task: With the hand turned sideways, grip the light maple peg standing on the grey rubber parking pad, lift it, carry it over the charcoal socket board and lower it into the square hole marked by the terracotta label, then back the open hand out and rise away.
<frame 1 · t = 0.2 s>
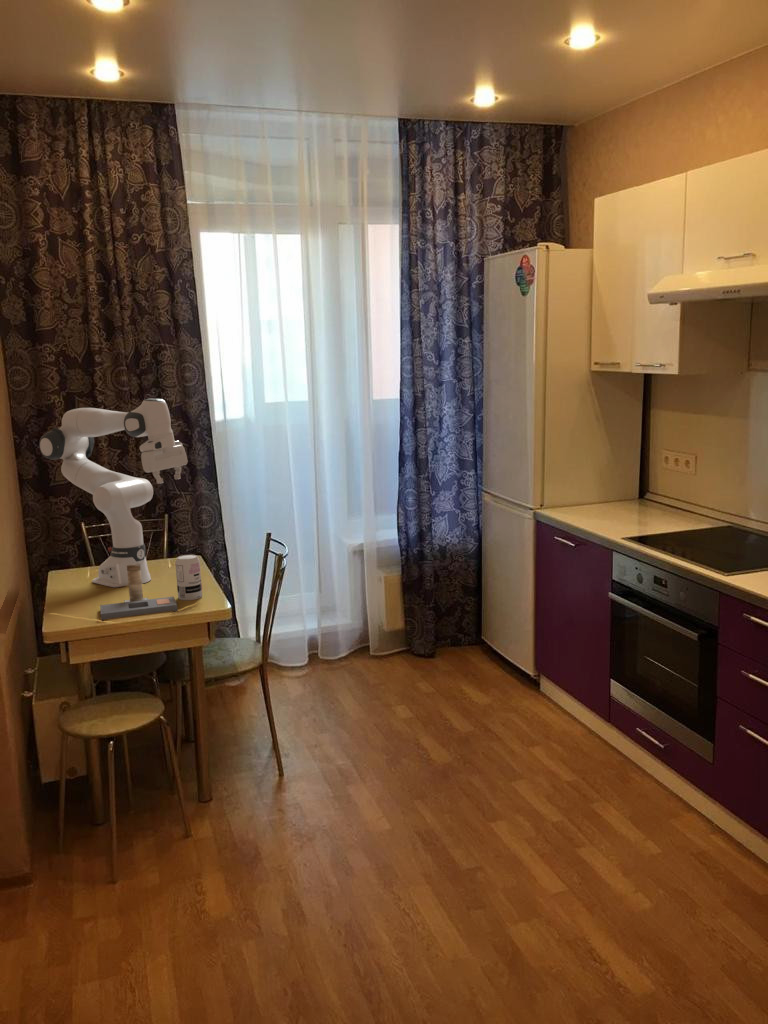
hand: (169, 481, 303), 39 cm above the table, tool pointing down, fingers open, 8 cm apart
supplement can: (190, 599, 294), on the table
parking pad: (136, 603, 290), on the table
socket board: (139, 611, 280), on the table
maple peg: (136, 601, 290), point 1 cm above the table, touching parking pad
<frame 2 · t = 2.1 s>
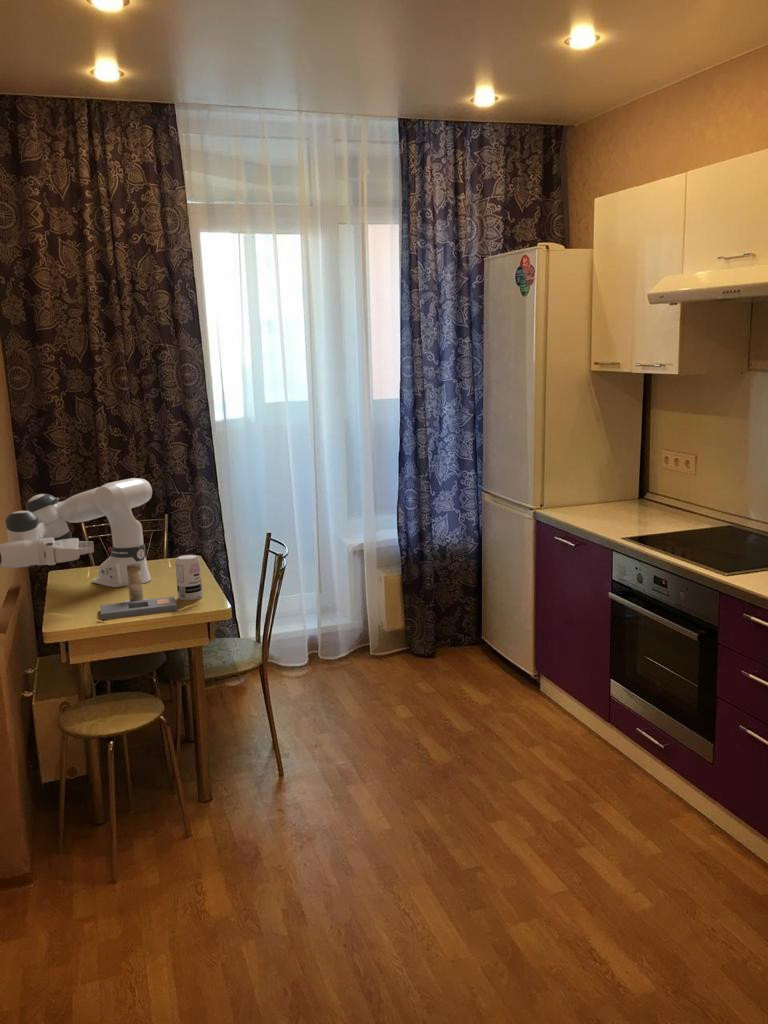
hand: (93, 546, 283), 21 cm above the table, tool horizontal, fingers open, 8 cm apart
nothing on the table moved.
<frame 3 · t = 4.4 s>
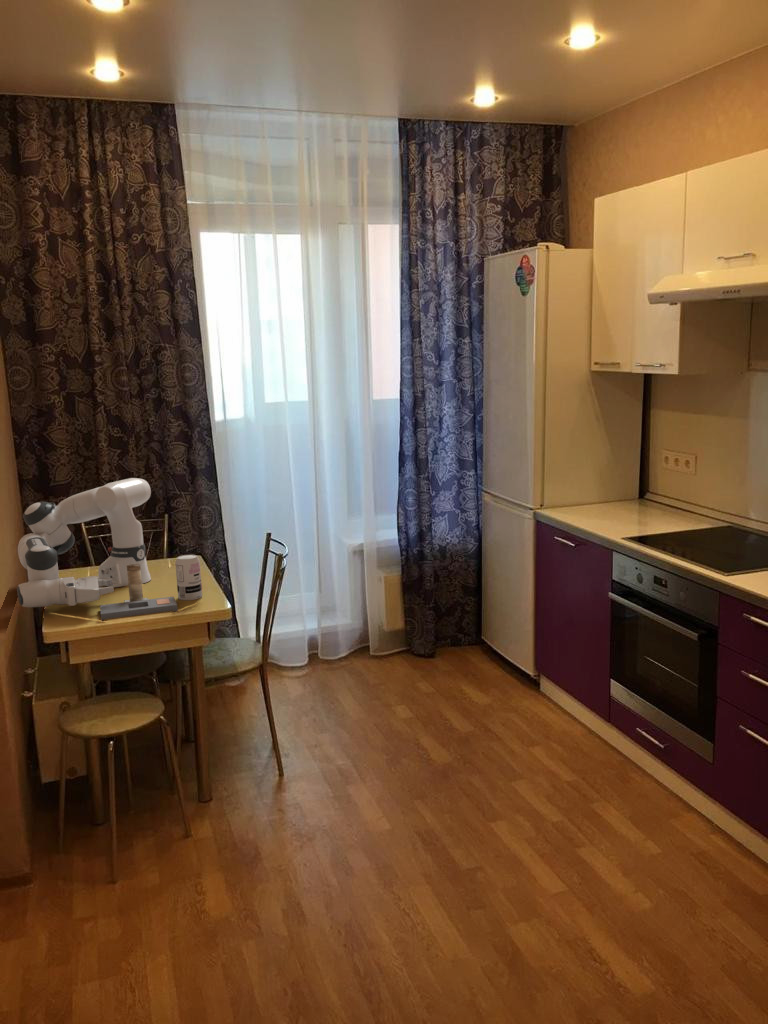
hand: (113, 585, 287), 7 cm above the table, tool horizontal, fingers open, 8 cm apart
nothing on the table moved.
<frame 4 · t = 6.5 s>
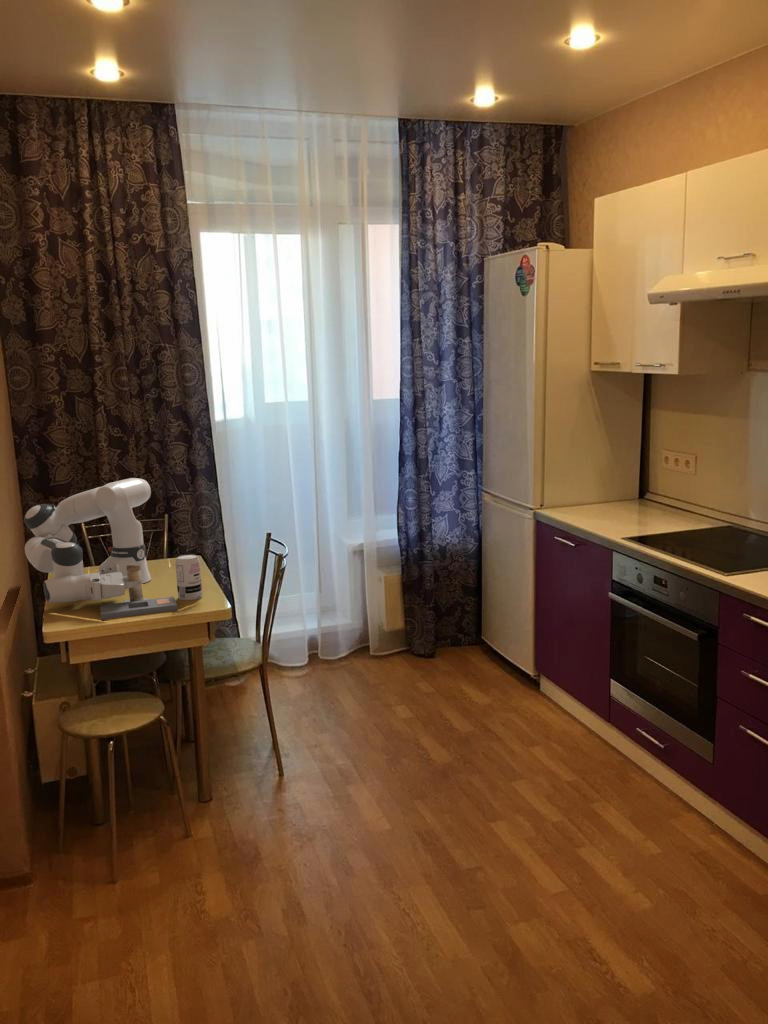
hand: (137, 581, 289), 8 cm above the table, tool horizontal, fingers closed on maple peg, 4 cm apart
maple peg: (136, 601, 290), point 1 cm above the table, touching gripper, parking pad
everything else where it was.
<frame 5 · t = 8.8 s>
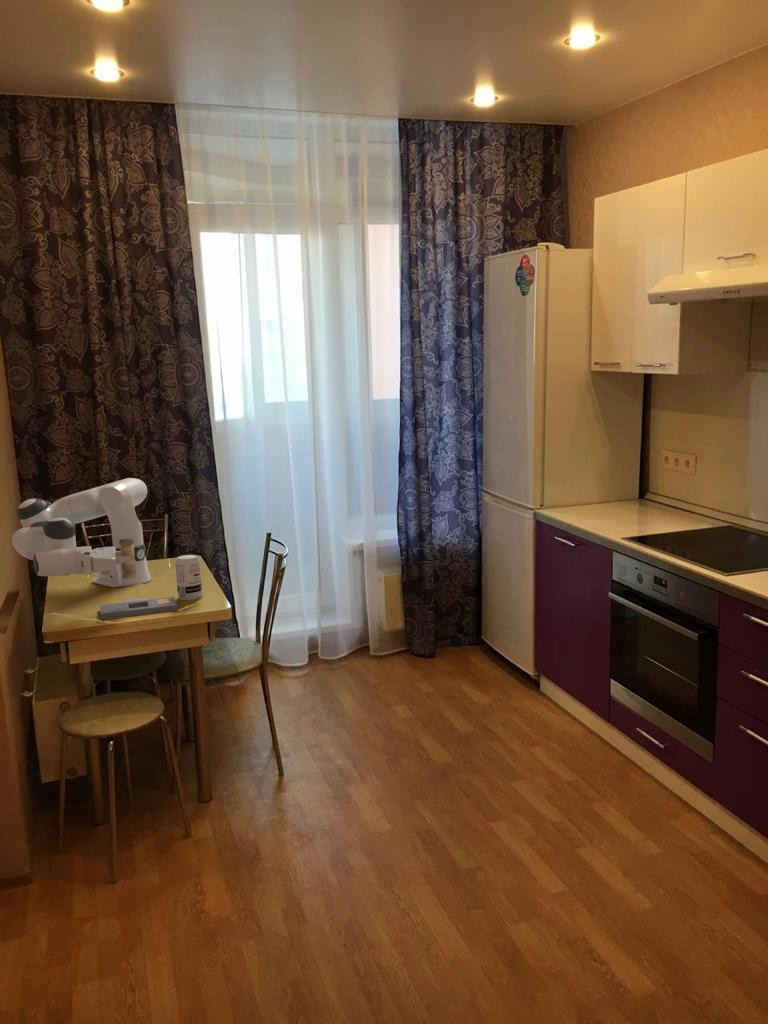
hand: (130, 556, 280), 18 cm above the table, tool horizontal, fingers closed on maple peg, 4 cm apart
maple peg: (129, 577, 281), point 11 cm above the table, touching gripper
everything else where it was.
when the fingers open (9 cm above the table, at t = 11.4 s): maple peg drops 1 cm, resting in socket board.
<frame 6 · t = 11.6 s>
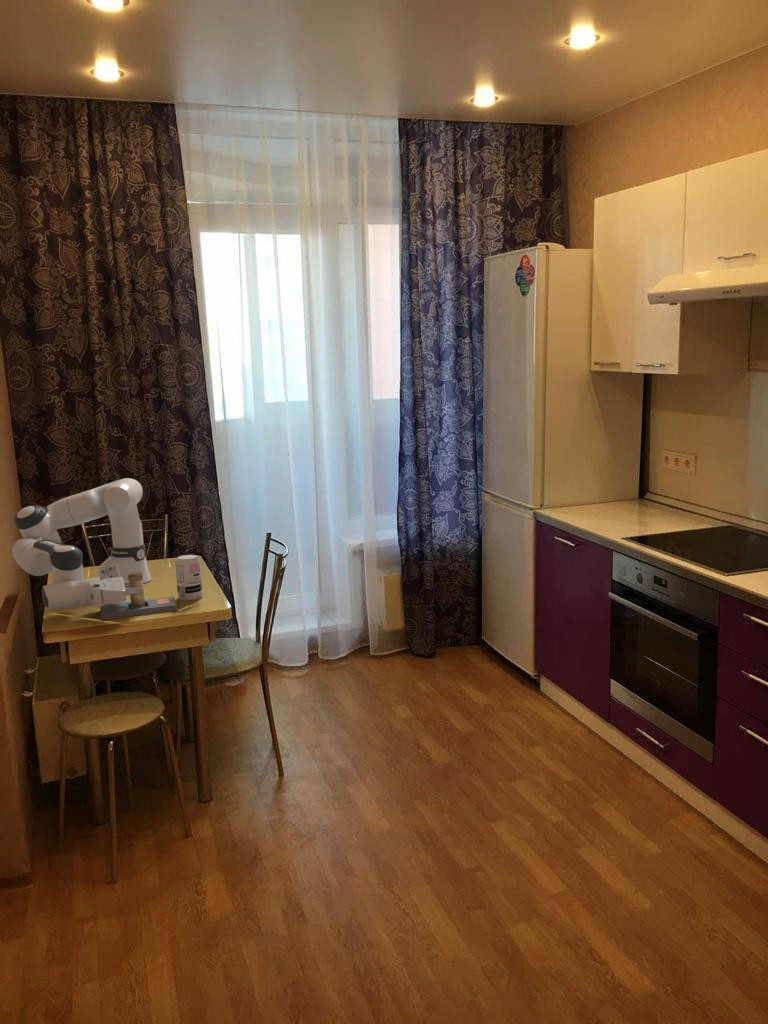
hand: (139, 586, 279), 9 cm above the table, tool horizontal, fingers open, 6 cm apart
maple peg: (138, 611, 280), resting in socket board
everything else where it was.
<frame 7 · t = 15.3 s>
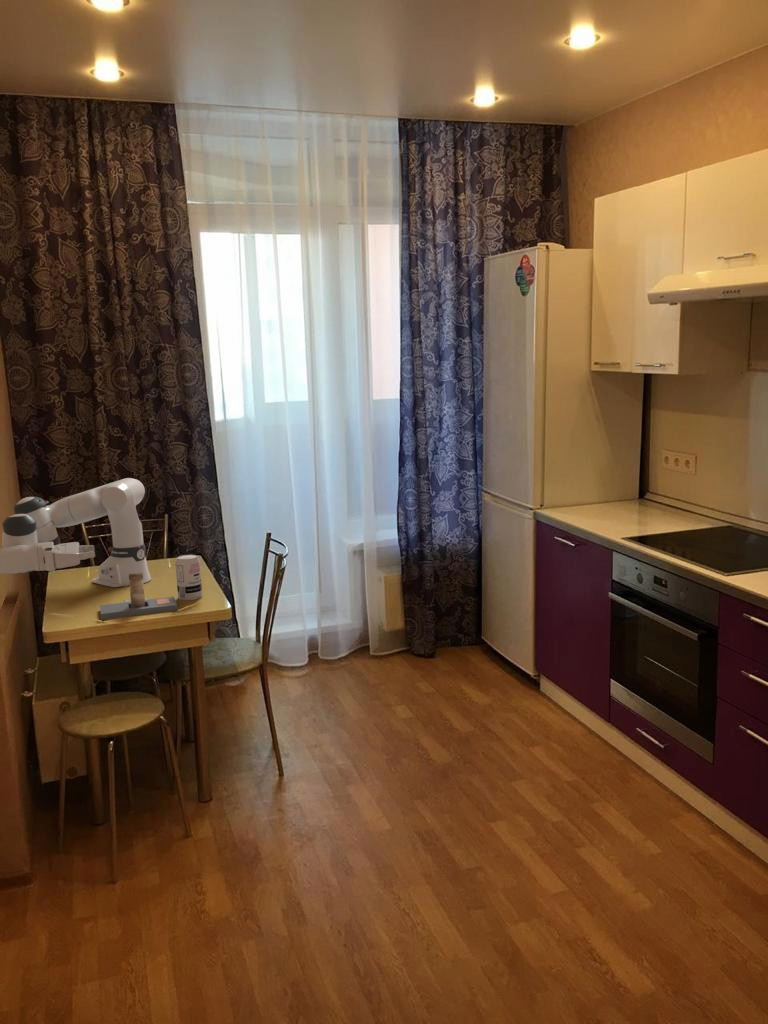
hand: (94, 551, 272), 22 cm above the table, tool horizontal, fingers open, 8 cm apart
nothing on the table moved.
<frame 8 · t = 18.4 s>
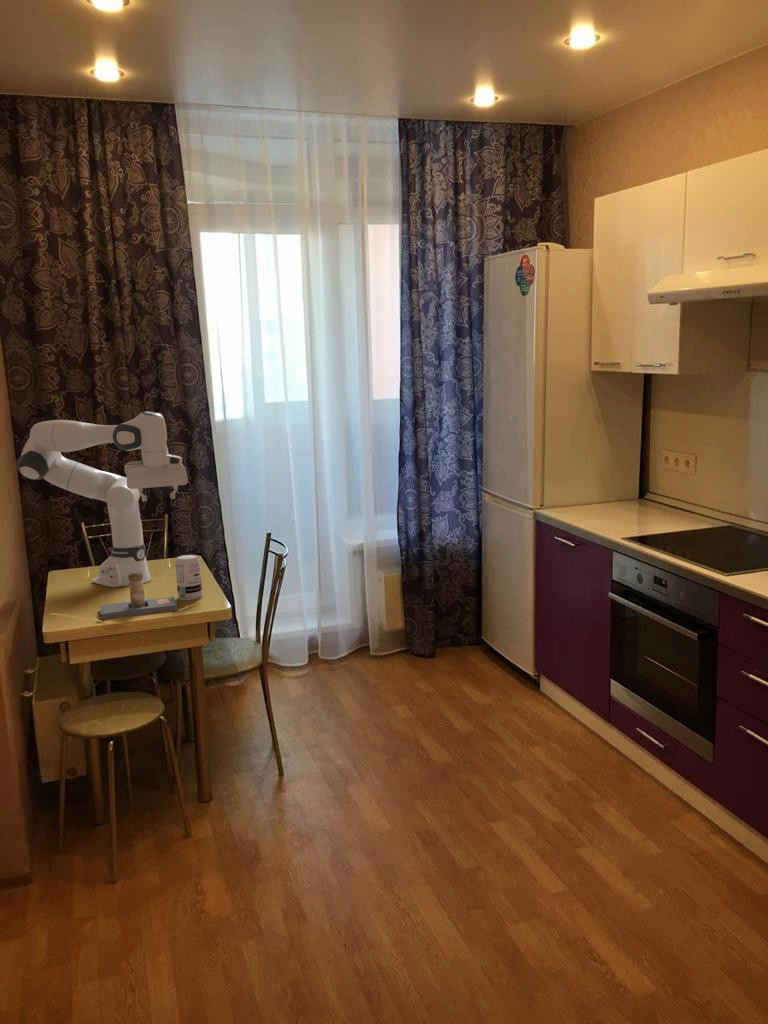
hand: (158, 499, 289), 35 cm above the table, tool pointing down, fingers open, 8 cm apart
nothing on the table moved.
at the end: maple peg 0.1 cm off-centre on the socket board, point 0.0 cm above the socket board's base; maple peg tilted 1°; the gripper is holding nothing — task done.
